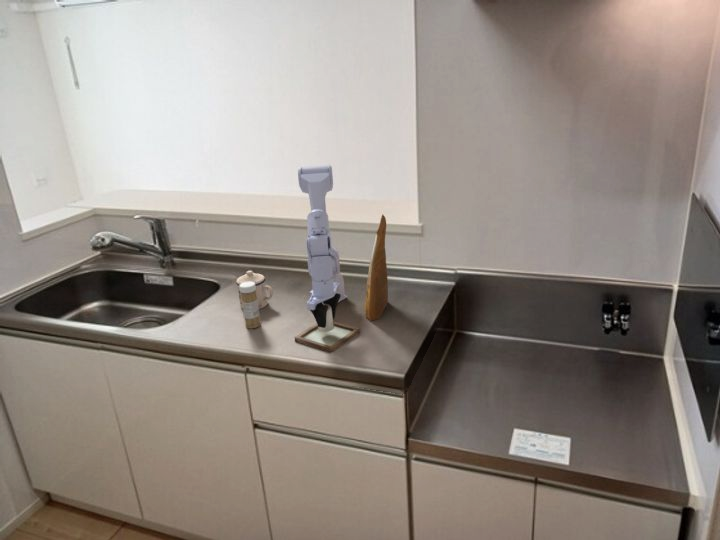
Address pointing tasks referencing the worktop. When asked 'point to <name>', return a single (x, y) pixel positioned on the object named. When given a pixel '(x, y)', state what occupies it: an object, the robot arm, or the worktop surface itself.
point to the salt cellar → (328, 321)
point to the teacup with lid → (260, 288)
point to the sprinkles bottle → (250, 304)
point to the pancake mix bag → (377, 276)
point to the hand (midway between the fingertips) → (326, 322)
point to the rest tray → (327, 336)
